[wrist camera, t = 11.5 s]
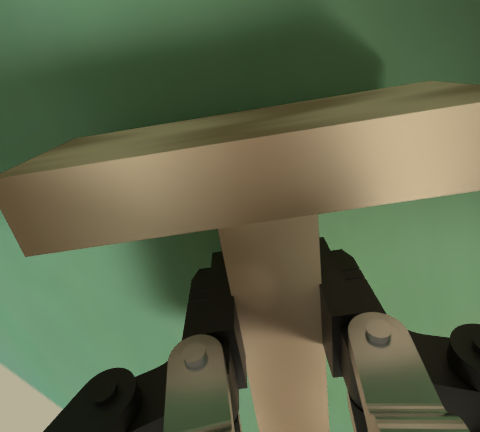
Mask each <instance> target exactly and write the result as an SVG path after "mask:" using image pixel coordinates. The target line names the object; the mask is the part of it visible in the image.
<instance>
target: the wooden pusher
mask: <svg viewBox="0 0 480 432" xmlns="http://www.w3.org/2000/svg"><path fill="white" fill-rule="evenodd" d="M479 190H480V85H473V84H461V83H449V82H438V81H425V82H419V83H413V84H406V85H400V86H394V87H388V88H382V89H376V90H370V91H363V92H357V93H351V94H345V95H339V96H333V97H326V98H320V99H314V100H308V101H302V102H296V103H289V104H283V105H277V106H271V107H265V108H259V109H252V110H246V111H240V112H234V113H228V114H222V115H215V116H209V117H203V118H197V119H191V120H185V121H179V122H172V123H166V124H160V125H154V126H148V127H142V128H135V129H129V130H123V131H117V132H111V133H105V134H98V135H92V136H86V137H80V138H74V139H72V140H70V141H68V142H66V143H64V144H62V145H59V146H57V147H55V148H53V149H51V150H49V151H47V152H45V153H43V154H40V155H38V156H36V157H34V158H32V159H30V160H28V161H26V162H23V163H21V164H19V165H17V166H15V167H13V168H11V169H9V170H7V171H4V172H2V173H0V209H1V211H2V213H3V215H4V217H5V219H6V221H7V223H8V225H9V227H10V229H11V230H12V232H13V234H14V236H15V238H16V240H17V242H18V244H19V246H20V248H21V250H22V252H23V253H24V255H25V257H28V256H34V255H41V254H48V253H55V252H62V251H69V250H76V249H82V248H89V247H96V246H103V245H110V244H117V243H123V242H130V241H137V240H144V239H151V238H158V237H165V236H171V235H178V234H185V233H192V232H199V231H206V230H212V229H218V233H219V238H220V243H221V248H222V253H223V258H224V262H225V267H226V272H227V277H228V282H229V287H230V291H231V296H234V300H235V305H236V310H237V315H238V319H239V324H240V329H241V334H242V339H243V344H244V349H245V354H246V369H247V374H248V378H249V383H250V388H251V393H252V398H253V403H254V407H255V412H256V417H257V422H258V427H259V432H329V416H328V397H327V378H326V359H325V350H324V347H323V341H322V323H321V306H320V288H319V284H322V283H321V264H320V246H319V227H318V214H322V213H329V212H336V211H343V210H349V209H356V208H363V207H370V206H377V205H384V204H390V203H397V202H404V201H411V200H418V199H425V198H432V197H438V196H445V195H452V194H459V193H466V192H473V191H479Z"/></svg>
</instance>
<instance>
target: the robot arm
mask: <svg viewBox="0 0 480 432" xmlns="http://www.w3.org/2000/svg"><path fill="white" fill-rule="evenodd" d="M319 246H320V264H321V283H322V284H319V288H320V306H321V323H322V341H323V347H324V350H325V353H326V357H327V360H328V363H329V366H330V369H331V373H332V376H333V378H334V377H343V378H344V380H345V383H346V386H347V400H348V406H349V411H350V415H351V420H352V425H353V430H354V432H480V324H464V325H461V326H458V327H457V328H455V329H454V330H453V331H452V333H451V336H450V338H447V337H439V336H432V335H424V334H419V333H415V332H411V331H409V330H407V329H406V327H405V326H404V325H403V324H402V323H401V322H400V321H398V320H397V319H395V318H393V317H392V316H389V315H387V314H386V313H385V311H384V309H383V308H382V306H381V304H380V302H379V301H378V299H377V297H376V296H375V294H374V292H373V290H372V289H371V287H370V285H369V284H368V282H367V280H366V279H365V277H364V275H363V273H362V272H361V270H360V269H359V267H358V265H357V263H356V261H355V260H354V258H353V257H352V256H350V255H349V254H348V253H346V252H345V251H343V250H342V249H340V250H333V251H330V249H329V247H328V245H327V243H326V241H325V239H324V237H320V238H319ZM188 301H189V303H188V306H187V312H186V319H185V325H184V331H183V337H182V341H181V342H180V343H178V344H177V345H176V346H175V347H174V349H173V350H172V352H171V354H170V356H169V358H168V361H167V362H166V363H164V364H163V365H161V366H159V367H157V368H155V369H153V370H151V371H148V372H146V373H144V374H141V375H139V376H137V377H134V375H133V374H132V373H131V372H130V371H129V370H127V369H124V368H112V369H108V370H106V371H103V372H101V373H99V374H98V375H96V376H95V377H93V378H92V379H91V380H90V381H89V382H88V383H87V384H86V385H85V386H84V387H83V388H82V389H81V390H80V391H79V392H78V393H77V395H76V396H75V397H74V398H73V399H72V400H71V401H70V402H69V403H68V405H67V406H66V407H65V408H64V409H63V410H62V411H61V412H60V414H59V415H58V416H57V417H56V418H55V419H54V420H53V421H52V423H51V424H50V425H49V426H48V427H47V428H46V429H45V430H44V431H43V432H242V429H241V422H240V415H239V389H243V388H247V372H246V354H245V349H244V344H243V339H242V334H241V329H240V324H239V319H238V315H237V310H236V305H235V300H234V296H231V291H230V287H229V282H228V277H227V272H226V267H225V262H224V258H223V253H222V251H221V252H214V253H213V254H212V264H211V268H204V269H199V270H198V272H197V273H196V275H195V276H194V277H193V279H192V282H191V288H190V294H189V300H188Z"/></svg>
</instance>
